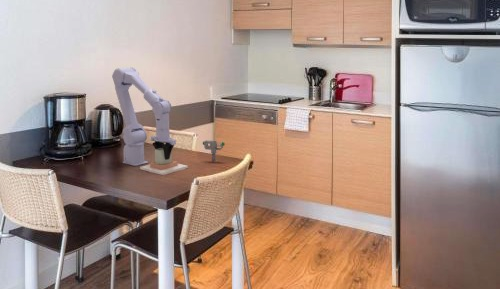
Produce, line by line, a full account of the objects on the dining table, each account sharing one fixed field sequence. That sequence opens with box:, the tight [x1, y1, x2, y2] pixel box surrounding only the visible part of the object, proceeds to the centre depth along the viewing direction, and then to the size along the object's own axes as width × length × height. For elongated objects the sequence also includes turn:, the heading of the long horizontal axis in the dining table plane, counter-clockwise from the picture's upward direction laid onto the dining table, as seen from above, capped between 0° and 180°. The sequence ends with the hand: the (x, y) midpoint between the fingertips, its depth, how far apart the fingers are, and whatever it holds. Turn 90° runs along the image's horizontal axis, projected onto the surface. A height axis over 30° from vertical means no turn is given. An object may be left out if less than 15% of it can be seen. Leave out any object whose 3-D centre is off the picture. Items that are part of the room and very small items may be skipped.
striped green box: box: [154, 148, 173, 165], centre depth 201 cm, size 6×4×7 cm, turn 142°
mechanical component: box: [202, 140, 225, 163], centre depth 214 cm, size 3×10×10 cm, turn 78°
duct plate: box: [139, 159, 189, 176], centre depth 202 cm, size 15×15×3 cm
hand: (163, 158), depth 202 cm, fingers closed on striped green box, 4 cm apart
